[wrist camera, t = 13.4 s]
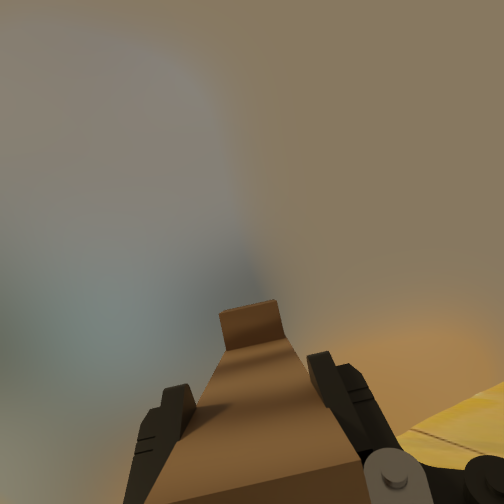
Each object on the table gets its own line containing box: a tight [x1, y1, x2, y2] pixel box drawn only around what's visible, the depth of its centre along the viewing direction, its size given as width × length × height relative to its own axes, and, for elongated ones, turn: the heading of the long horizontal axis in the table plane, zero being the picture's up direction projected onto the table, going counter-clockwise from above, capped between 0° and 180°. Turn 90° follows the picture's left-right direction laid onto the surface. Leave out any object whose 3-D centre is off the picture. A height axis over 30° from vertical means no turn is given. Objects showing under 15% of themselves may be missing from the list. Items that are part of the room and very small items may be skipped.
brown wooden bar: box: [144, 299, 371, 504], centre depth 17 cm, size 21×4×5 cm, turn 179°
